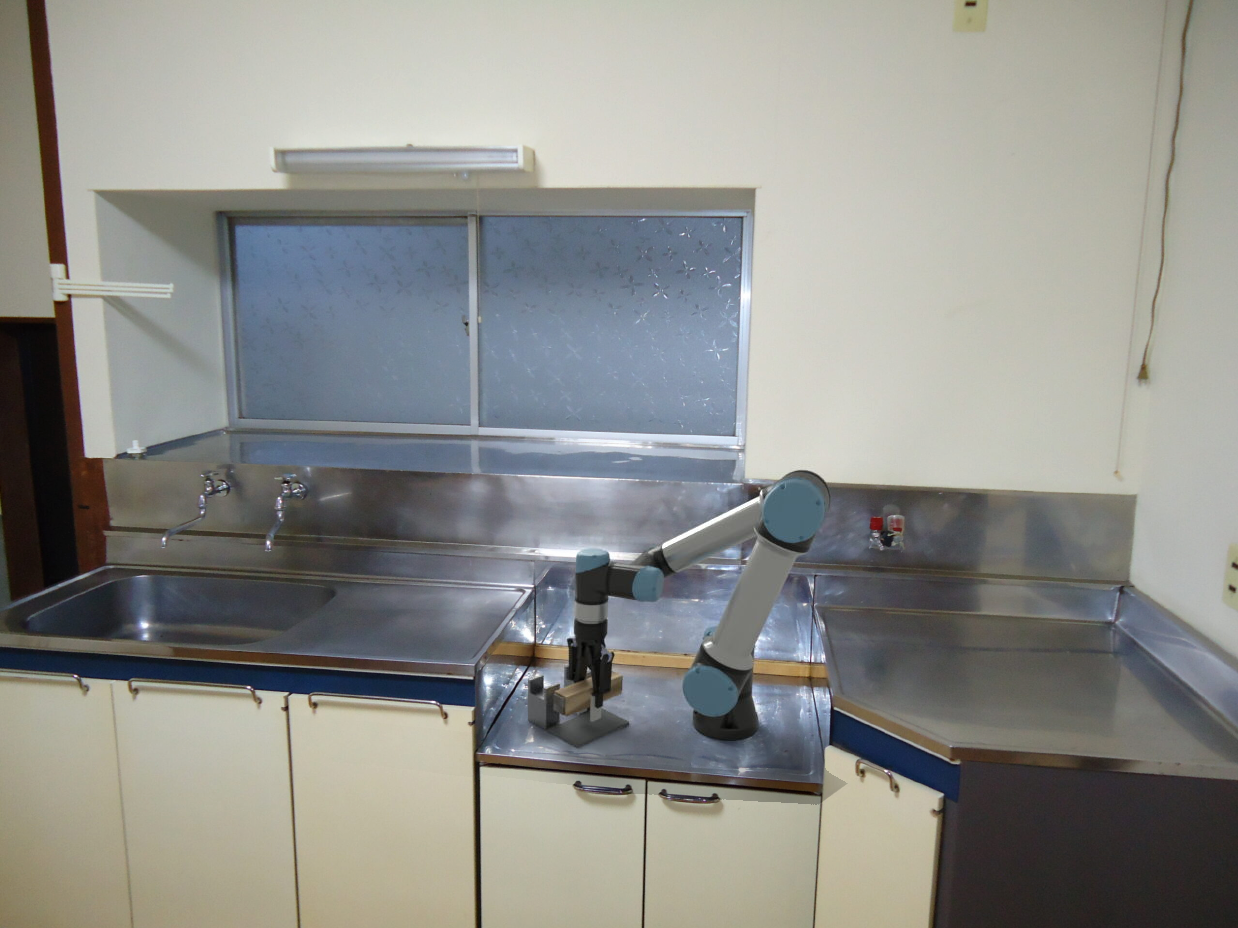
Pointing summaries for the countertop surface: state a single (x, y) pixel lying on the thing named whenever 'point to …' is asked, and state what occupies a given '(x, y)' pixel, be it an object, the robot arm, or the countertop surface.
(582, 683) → the oak rail
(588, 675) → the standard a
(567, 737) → the mat
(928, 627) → the countertop surface
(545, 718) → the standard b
